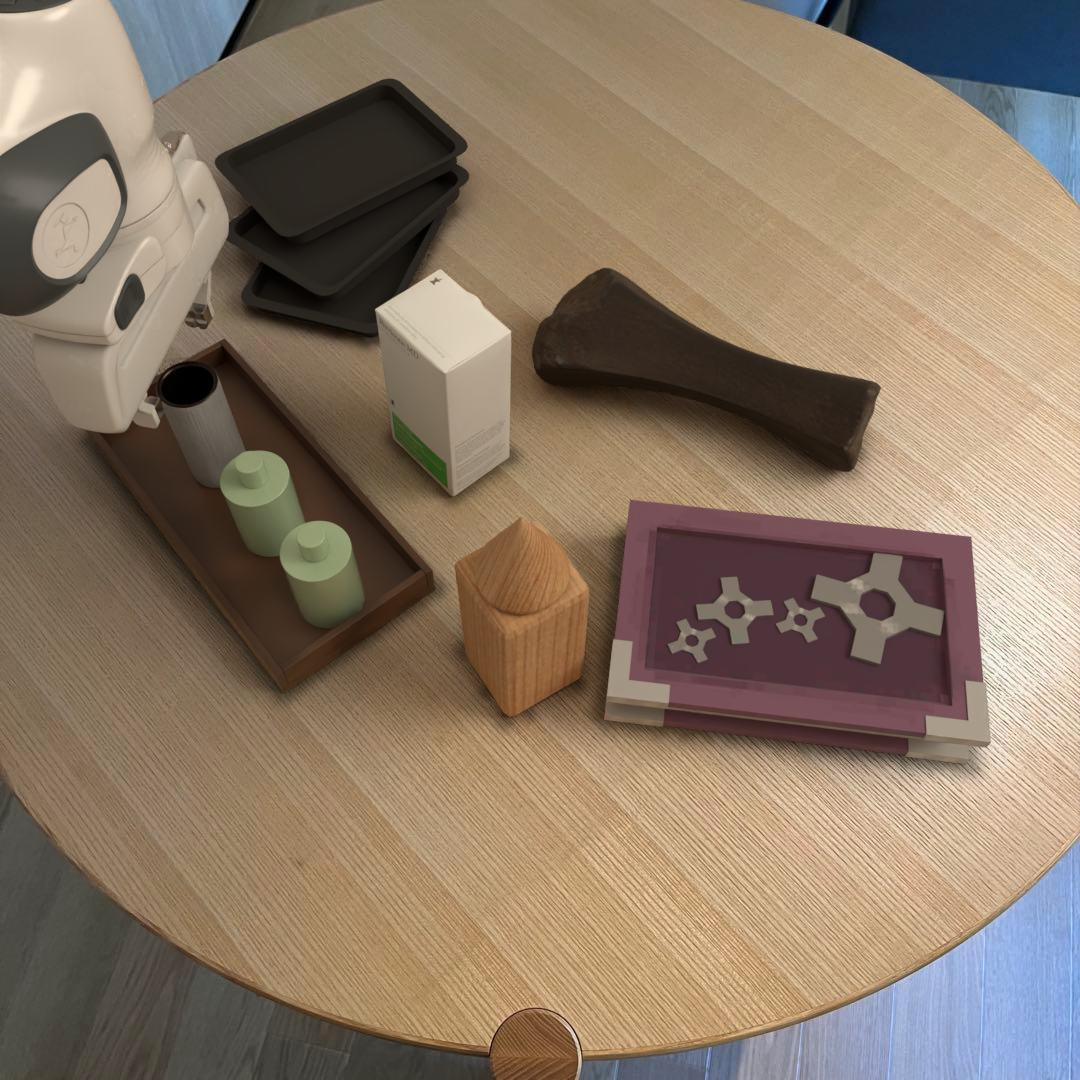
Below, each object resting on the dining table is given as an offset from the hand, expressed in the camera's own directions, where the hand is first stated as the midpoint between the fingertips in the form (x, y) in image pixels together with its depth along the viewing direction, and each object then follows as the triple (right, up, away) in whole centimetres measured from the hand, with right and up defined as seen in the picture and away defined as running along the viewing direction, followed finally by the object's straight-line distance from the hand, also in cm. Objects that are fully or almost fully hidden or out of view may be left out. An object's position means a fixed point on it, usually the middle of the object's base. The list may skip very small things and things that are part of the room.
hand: (177, 369), depth 81 cm
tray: (+8, +18, +26) cm, 33 cm away
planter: (0, -7, +10) cm, 12 cm away
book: (+44, -20, +2) cm, 49 cm away
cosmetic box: (+19, -5, +12) cm, 23 cm away
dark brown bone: (+40, 0, +15) cm, 42 cm away
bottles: (+8, -14, +5) cm, 17 cm away
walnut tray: (+4, -10, +9) cm, 14 cm away
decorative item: (+25, -22, +2) cm, 33 cm away
